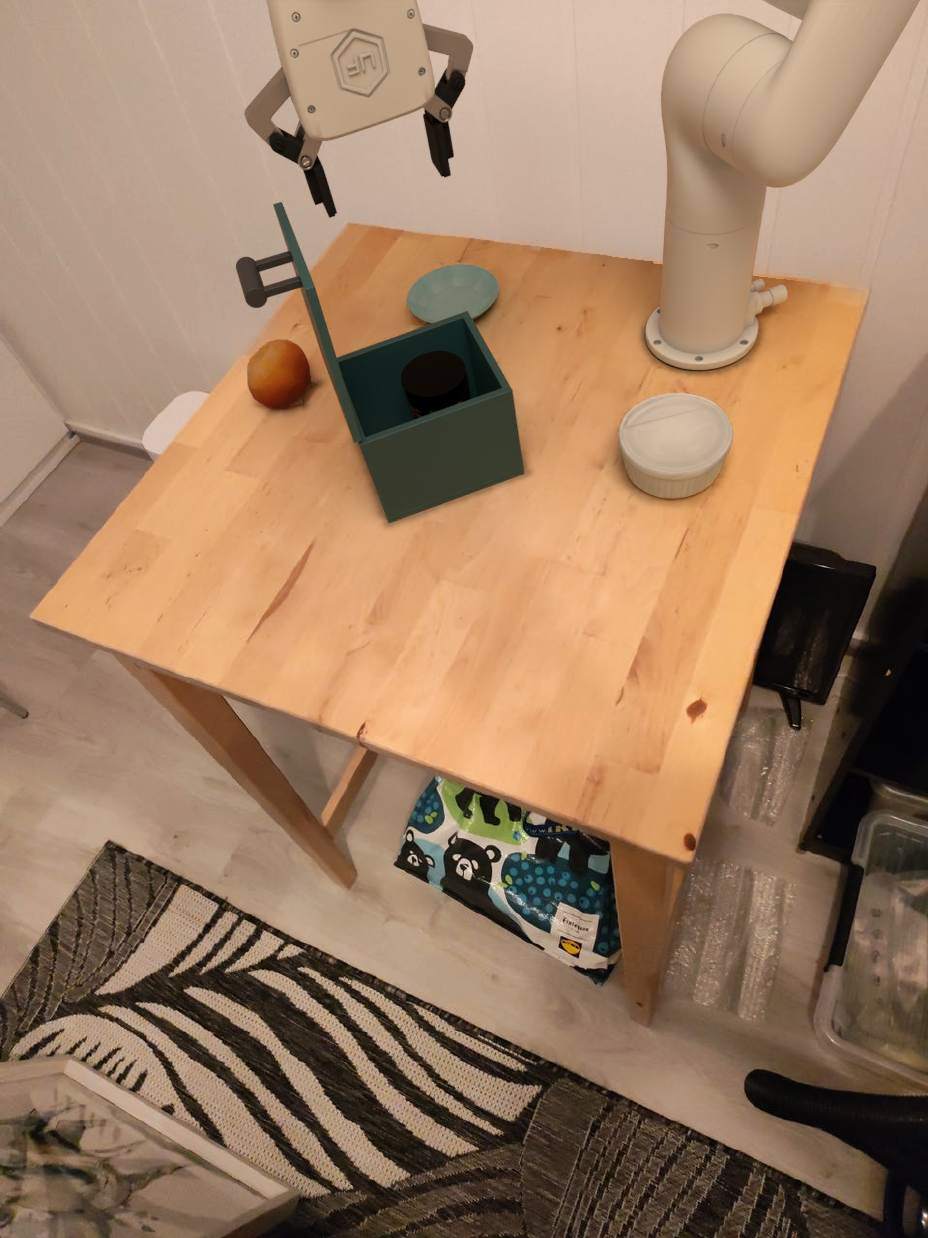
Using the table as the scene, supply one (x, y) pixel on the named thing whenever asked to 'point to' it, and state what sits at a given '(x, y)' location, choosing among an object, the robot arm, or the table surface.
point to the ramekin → (674, 444)
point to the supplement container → (434, 383)
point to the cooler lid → (259, 294)
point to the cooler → (432, 420)
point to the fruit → (279, 374)
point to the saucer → (452, 292)
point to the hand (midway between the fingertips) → (385, 188)
